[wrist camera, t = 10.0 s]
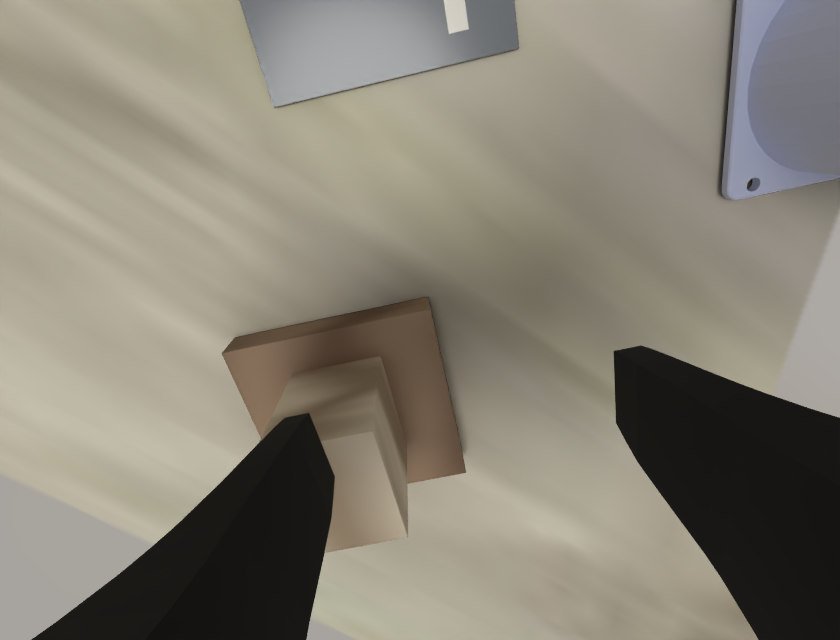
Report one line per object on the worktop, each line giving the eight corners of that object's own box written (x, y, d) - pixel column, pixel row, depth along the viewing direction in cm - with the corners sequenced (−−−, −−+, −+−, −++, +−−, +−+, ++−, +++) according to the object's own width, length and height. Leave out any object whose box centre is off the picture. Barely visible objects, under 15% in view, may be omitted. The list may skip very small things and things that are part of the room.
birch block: (380, 355, 18) (372, 430, 13) (407, 445, 20) (407, 537, 15) (291, 374, 18) (253, 454, 14) (326, 461, 20) (303, 556, 16)
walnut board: (428, 296, 18) (429, 309, 17) (462, 451, 22) (465, 472, 21) (234, 337, 19) (221, 353, 18) (299, 482, 23) (292, 505, 21)
